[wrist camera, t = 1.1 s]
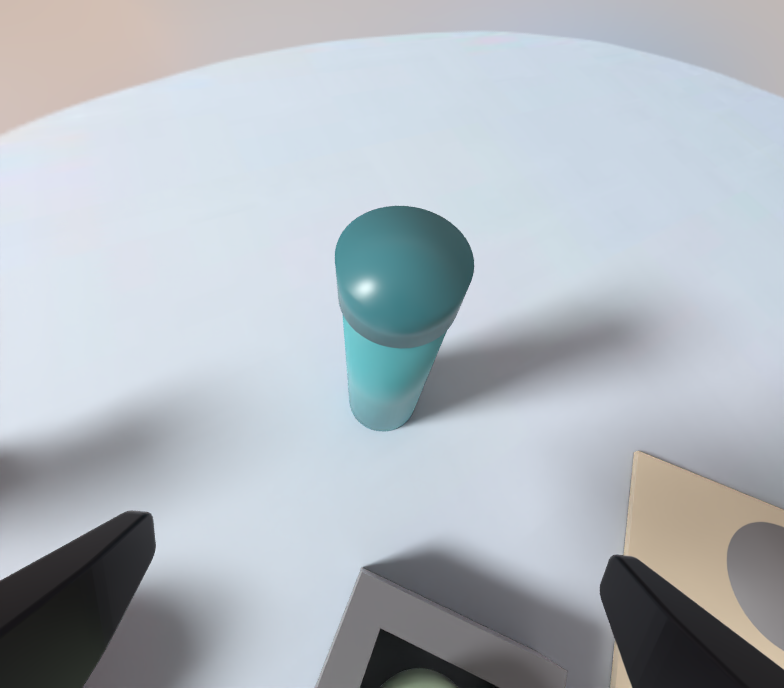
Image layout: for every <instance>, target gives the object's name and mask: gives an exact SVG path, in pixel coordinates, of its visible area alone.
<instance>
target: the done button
mask: <svg viewBox="0 0 784 688" xmlns="http://www.w3.org/2000/svg"><path fill="white" fill-rule="evenodd" d="M380 688H458V686H457V685H456V684H455V683H454V682H452V681H451V680H450V679H449V678H448V677H446V676H444V675H443V674H441V673H439V672H436V671H434V670H430V669H426V668H413V669H408V670H404V671H402V672H399V673H397V674H395V675H394V676H392V677H391V678H389V679H388V680H387V681H386V682H385V683H384V684H382V686H381V687H380Z"/></svg>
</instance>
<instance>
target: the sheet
mask: <svg viewBox="0 0 784 688" xmlns="http://www.w3.org/2000/svg"><path fill="white" fill-rule="evenodd" d="M624 555H625V556H633V557H635V558H637V559H639V560H640V561H641V562H643V563H644V564H645V565H647V566H648V567H649V568H651V569H652V570H653V571H655V572H656V573H657V574H659V575H660V576H661V577H663V578H664V579H665V580H667V581H668V582H669V583H670V584H672V585H673V586H674V587H676V588H677V589H678V590H680V591H681V592H682V593H684V594H685V595H686V596H688V597H689V598H690V599H692V600H693V601H694V602H696V603H697V604H698V605H700V606H701V607H702V608H704V609H705V610H706V611H707V612H709V613H710V614H711V615H713V616H714V617H715V618H717V619H718V620H719V621H721V622H722V623H723V624H725V625H726V626H727V627H729V628H730V629H731V630H733V631H734V632H735V633H737V634H738V635H739V636H740V637H742V638H743V639H744V640H746V641H747V642H748V643H750V644H751V645H752V646H754V647H755V648H756V649H758V650H759V651H760V652H762V653H763V654H764V655H766V656H767V657H768V658H770V659H771V660H772V661H774V662H775V663H776V664H777V665H779V666H780V667H781V668H783V669H784V510H783V509H781V508H778V507H776V506H773V505H771V504H768V503H766V502H763V501H761V500H759V499H756V498H754V497H751V496H749V495H746V494H744V493H741V492H739V491H736V490H734V489H731V488H729V487H726V486H724V485H722V484H719V483H717V482H714V481H712V480H709V479H707V478H704V477H702V476H699V475H697V474H694V473H692V472H689V471H687V470H685V469H682V468H680V467H677V466H675V465H672V464H670V463H667V462H665V461H662V460H660V459H657V458H655V457H652V456H650V455H648V454H645V453H643V452H640V451H636V452H634V458H633V467H632V477H631V487H630V497H629V507H628V516H627V526H626V536H625V546H624ZM610 688H632V686H631V683H630V681H629V678H628V675H627V672H626V669H625V667H624V664H623V661H622V658H621V655H620V652H619V649H618V646H617V643H616V641H615V644H614V654H613V663H612V673H611V683H610Z"/></svg>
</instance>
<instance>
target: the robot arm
mask: <svg viewBox="0 0 784 688" xmlns="http://www.w3.org/2000/svg"><path fill="white" fill-rule="evenodd" d="M155 548H156V542H155V533H154V523H153V516H152V515H151V513H149V512H142V511H127V512H124V513H122V514H120V515H118V516H117V517H115V518H113V519H111V520H109V521H108V522H106V523H104V524H102V525H100V526H99V527H97V528H95V529H93V530H91V531H89V532H88V533H86V534H84V535H82V536H80V537H79V538H77V539H75V540H73V541H71V542H70V543H68V544H66V545H64V546H62V547H60V548H59V549H57V550H55V551H53V552H51V553H50V554H48V555H46V556H44V557H42V558H40V559H39V560H37V561H35V562H33V563H31V564H30V565H28V566H26V567H24V568H22V569H21V570H19V571H17V572H15V573H13V574H11V575H10V576H8V577H6V578H4V579H2V580H1V581H0V688H83V686H84V684H85V683H86V681H87V680H88V678H89V676H90V675H91V673H92V671H93V670H94V668H95V667H96V665H97V663H98V662H99V660H100V658H101V657H102V655H103V653H104V652H105V650H106V648H107V646H108V644H109V643H110V641H111V639H112V637H113V635H114V633H115V631H116V629H117V627H118V625H119V623H120V622H121V620H122V618H123V616H124V614H125V612H126V610H127V608H128V606H129V604H130V602H131V600H132V598H133V596H134V594H135V592H136V590H137V588H138V586H139V584H140V582H141V581H142V579H143V577H144V575H145V573H146V571H147V569H148V567H149V565H150V563H151V561H152V559H153V556H154V553H155ZM600 596H601V600H602V603H603V606H604V609H605V612H606V615H607V618H608V620H609V623H610V626H611V629H612V632H613V635H614V638H615V641H616V643H617V646H618V649H619V652H620V655H621V658H622V661H623V664H624V667H625V669H626V672H627V675H628V678H629V681H630V683H631V686H632V688H784V669H783V668H781V667H780V666H779V665H777V664H776V663H775V662H774V661H772V660H771V659H770V658H768V657H767V656H766V655H764V654H763V653H762V652H760V651H759V650H758V649H756V648H755V647H754V646H752V645H751V644H750V643H748V642H747V641H746V640H744V639H743V638H742V637H740V636H739V635H738V634H737V633H735V632H734V631H733V630H731V629H730V628H729V627H727V626H726V625H725V624H723V623H722V622H721V621H719V620H718V619H717V618H715V617H714V616H713V615H711V614H710V613H709V612H707V611H706V610H705V609H704V608H702V607H701V606H700V605H698V604H697V603H696V602H694V601H693V600H692V599H690V598H689V597H688V596H686V595H685V594H684V593H682V592H681V591H680V590H678V589H677V588H676V587H674V586H673V585H672V584H670V583H669V582H668V581H667V580H665V579H664V578H663V577H661V576H660V575H659V574H657V573H656V572H655V571H653V570H652V569H651V568H649V567H648V566H647V565H645V564H644V563H643V562H641V561H640V560H639V559H637V558H635V557H633V556H625V555H613V556H612V557H611V558H610V559H609V562H608V564H607V567H606V570H605V573H604V575H603V578H602V581H601V584H600Z"/></svg>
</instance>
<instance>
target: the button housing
mask: <svg viewBox="0 0 784 688" xmlns="http://www.w3.org/2000/svg"><path fill="white" fill-rule="evenodd" d="M380 628H381V629H383V630H385V631H387V632H389V633H391V634H393V635H395V636H397V637H399V638H401V639H403V640H405V641H407V642H409V643H411V644H413V645H415V646H417V647H419V648H421V649H423V650H425V651H427V652H429V653H431V654H433V655H435V656H437V657H439V658H441V659H443V660H445V661H447V662H449V663H451V664H453V665H455V666H457V667H459V668H461V669H463V670H465V671H467V672H469V673H471V674H473V675H475V676H477V677H479V678H481V679H483V680H485V681H487V682H489V683H491V684H493V685H495V688H565V685H566V678H567V670H565V669H564V668H562V667H560V666H559V665H557V664H556V663H554V662H553V661H551V660H549V659H548V658H546V657H545V656H543V655H542V654H540V653H538V652H537V651H535V650H533V649H531V648H529V647H526V646H524V645H522V644H520V643H518V642H516V641H514V640H512V639H510V638H508V637H506V636H504V635H502V634H499V633H497V632H495V631H493V630H491V629H489V628H487V627H485V626H483V625H481V624H479V623H477V622H475V621H472V620H470V619H468V618H466V617H464V616H462V615H460V614H458V613H456V612H454V611H452V610H450V609H447V608H445V607H443V606H441V605H439V604H437V603H435V602H433V601H431V600H429V599H427V598H425V597H423V596H420V595H418V594H416V593H414V592H412V591H410V590H408V589H406V588H404V587H402V586H400V585H398V584H396V583H393V582H391V581H389V580H387V579H385V578H383V577H381V576H379V575H377V574H375V573H373V572H371V571H368V570H366V569H364V568H361V570H360V573H359V575H358V578H357V581H356V583H355V586H354V588H353V591H352V593H351V596H350V599H349V601H348V604H347V606H346V609H345V611H344V614H343V617H342V619H341V622H340V624H339V627H338V629H337V632H336V635H335V637H334V640H333V642H332V645H331V647H330V650H329V653H328V655H327V658H326V660H325V663H324V665H323V668H322V671H321V673H320V676H319V678H318V681H317V683H316V686H315V688H360V686H361V683H362V680H363V677H364V674H365V671H366V668H367V665H368V662H369V659H370V657H371V654H372V651H373V648H374V645H375V642H376V639H377V636H378V633H379V631H380Z"/></svg>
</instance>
